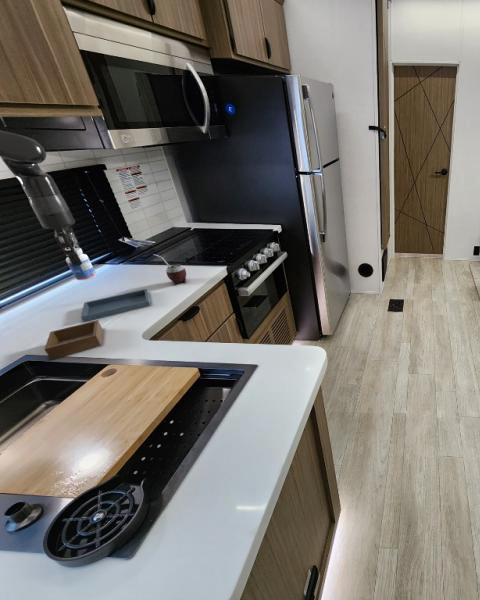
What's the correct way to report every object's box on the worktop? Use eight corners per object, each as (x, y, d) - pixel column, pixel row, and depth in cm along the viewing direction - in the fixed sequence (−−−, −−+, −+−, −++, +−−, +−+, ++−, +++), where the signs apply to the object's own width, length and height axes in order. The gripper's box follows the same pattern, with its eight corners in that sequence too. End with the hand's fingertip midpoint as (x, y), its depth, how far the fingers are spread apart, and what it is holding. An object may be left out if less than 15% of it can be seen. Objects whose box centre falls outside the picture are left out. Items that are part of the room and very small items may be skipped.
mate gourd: (192, 280, 148) (182, 248, 141) (180, 288, 141) (168, 254, 134) (177, 279, 149) (166, 247, 142) (164, 287, 142) (152, 254, 135)
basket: (51, 361, 97) (44, 349, 95) (57, 343, 105) (50, 331, 103) (102, 347, 103) (95, 335, 101) (103, 331, 111) (97, 319, 109)
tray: (84, 323, 116) (80, 317, 115) (87, 308, 126) (84, 302, 124) (151, 306, 126) (148, 300, 125) (148, 294, 136) (146, 288, 135)
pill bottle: (71, 279, 109) (56, 251, 104) (88, 273, 113) (75, 246, 108) (84, 281, 107) (69, 253, 103) (101, 274, 112) (87, 247, 107)
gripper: (39, 207, 103) (66, 258, 111) (30, 217, 93) (60, 272, 101) (71, 204, 107) (95, 253, 115) (65, 212, 96) (92, 266, 104)
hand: (78, 262), depth 108 cm, fingers closed on pill bottle, 5 cm apart
